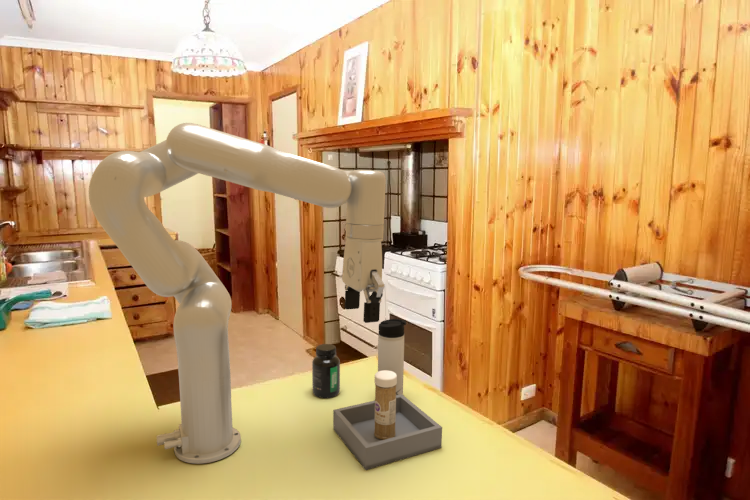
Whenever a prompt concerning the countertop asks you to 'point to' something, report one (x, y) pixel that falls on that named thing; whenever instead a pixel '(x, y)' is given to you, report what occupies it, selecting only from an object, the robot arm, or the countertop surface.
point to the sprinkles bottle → (385, 404)
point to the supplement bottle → (326, 372)
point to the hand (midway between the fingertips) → (361, 314)
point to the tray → (410, 438)
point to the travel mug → (392, 349)
